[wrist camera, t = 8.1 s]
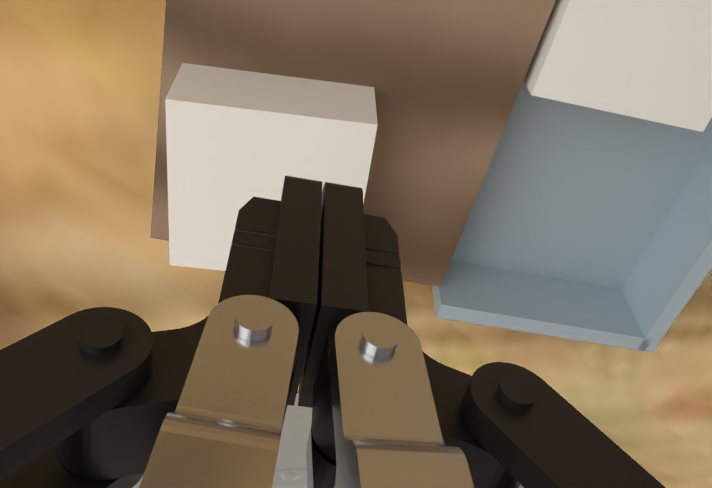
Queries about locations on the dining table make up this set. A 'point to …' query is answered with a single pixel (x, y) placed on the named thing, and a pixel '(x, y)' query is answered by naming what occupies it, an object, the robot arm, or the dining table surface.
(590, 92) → the cream tile
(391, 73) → the walnut plate
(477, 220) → the box
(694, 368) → the dining table surface
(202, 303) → the dining table surface
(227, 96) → the cream tile
